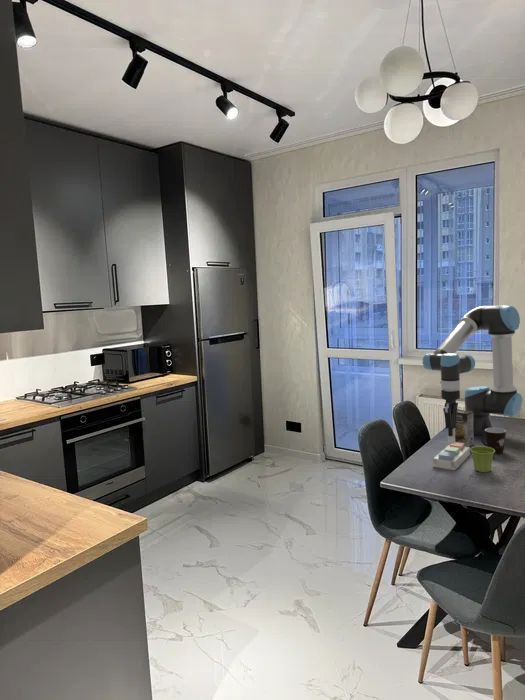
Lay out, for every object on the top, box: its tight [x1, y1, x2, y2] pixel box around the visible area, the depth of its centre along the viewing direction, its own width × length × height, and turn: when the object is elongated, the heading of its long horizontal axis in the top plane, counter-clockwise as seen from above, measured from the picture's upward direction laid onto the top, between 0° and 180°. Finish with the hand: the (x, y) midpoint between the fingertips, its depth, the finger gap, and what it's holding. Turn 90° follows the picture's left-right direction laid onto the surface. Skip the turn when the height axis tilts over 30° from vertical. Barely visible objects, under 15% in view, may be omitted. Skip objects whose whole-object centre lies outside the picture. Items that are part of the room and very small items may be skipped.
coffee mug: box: [480, 427, 507, 455], centre depth 229 cm, size 12×9×10 cm
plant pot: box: [470, 445, 495, 473], centre depth 208 cm, size 9×9×9 cm
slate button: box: [437, 450, 454, 461], centre depth 216 cm, size 5×5×3 cm
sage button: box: [443, 446, 460, 456], centre depth 222 cm, size 5×5×3 cm
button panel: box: [432, 443, 471, 471], centre depth 222 cm, size 22×9×4 cm, turn 143°
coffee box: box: [449, 408, 475, 447], centre depth 243 cm, size 9×6×16 cm
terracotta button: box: [449, 442, 464, 451], centre depth 227 cm, size 5×5×3 cm
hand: (451, 442), depth 221 cm, fingers closed
